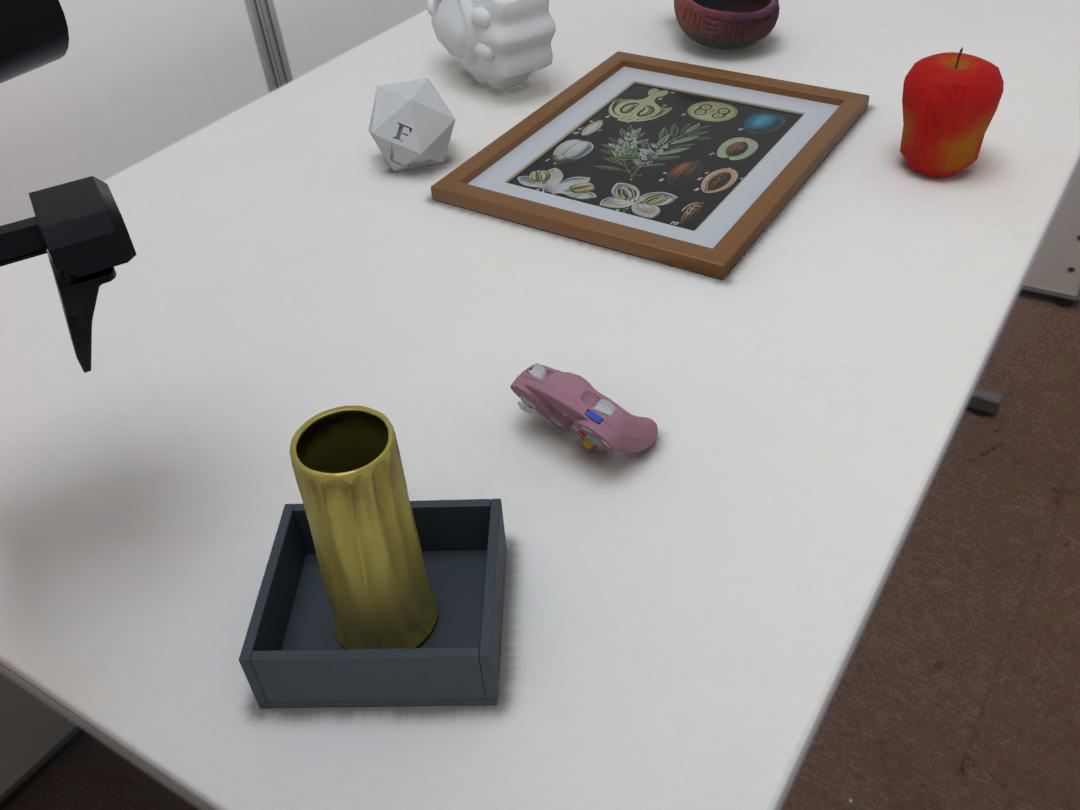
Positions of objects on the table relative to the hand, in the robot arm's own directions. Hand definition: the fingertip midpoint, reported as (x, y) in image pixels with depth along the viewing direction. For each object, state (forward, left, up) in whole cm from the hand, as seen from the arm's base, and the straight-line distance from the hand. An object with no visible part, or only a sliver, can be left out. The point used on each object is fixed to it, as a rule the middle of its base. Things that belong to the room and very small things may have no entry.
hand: (2, 395), depth 55 cm
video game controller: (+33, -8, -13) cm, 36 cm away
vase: (+15, -16, -13) cm, 25 cm away
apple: (+82, +7, -13) cm, 83 cm away
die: (+40, +38, -13) cm, 57 cm away
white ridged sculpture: (+56, +52, -13) cm, 78 cm away
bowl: (+84, +46, -13) cm, 97 cm away
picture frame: (+62, +25, -13) cm, 68 cm away
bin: (+15, -16, -13) cm, 25 cm away
